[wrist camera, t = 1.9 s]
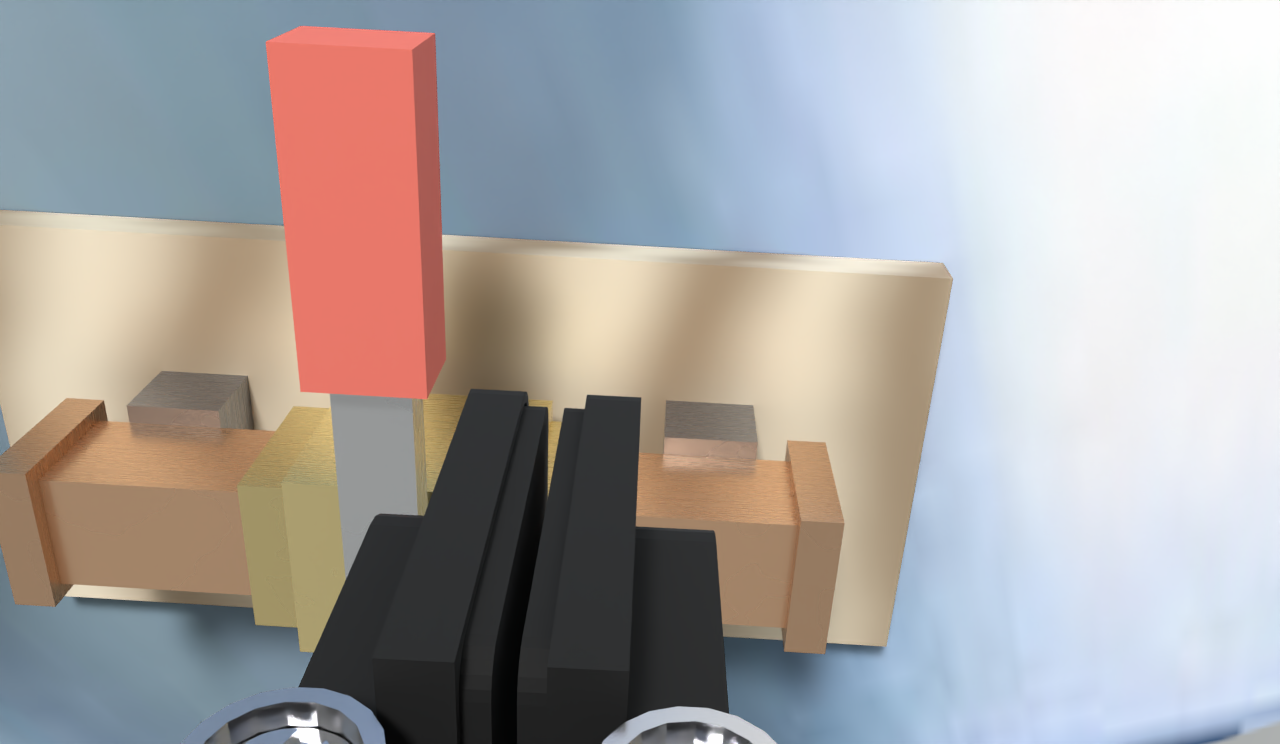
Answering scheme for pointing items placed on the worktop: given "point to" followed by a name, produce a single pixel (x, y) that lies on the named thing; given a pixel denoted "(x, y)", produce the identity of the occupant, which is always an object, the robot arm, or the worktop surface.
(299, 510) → the valve body
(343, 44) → the valve lever
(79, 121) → the worktop surface
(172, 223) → the board
